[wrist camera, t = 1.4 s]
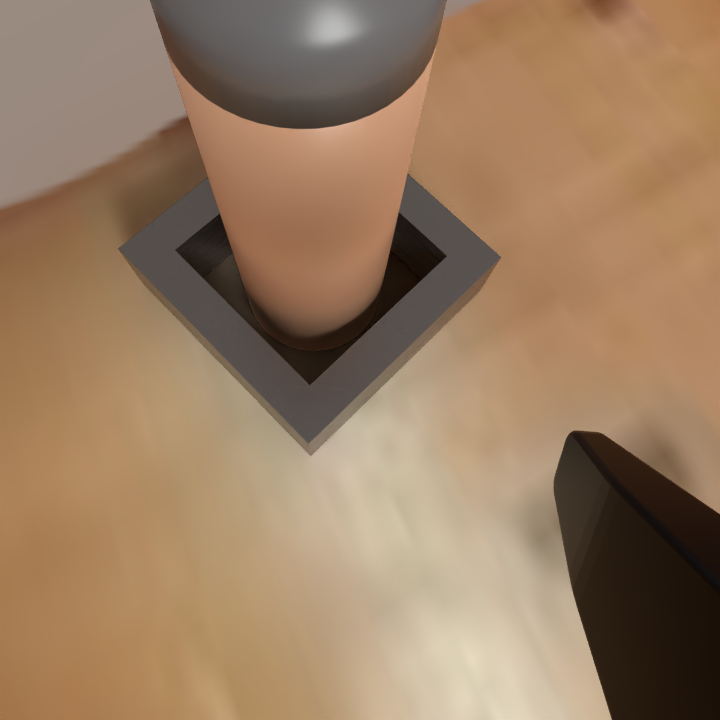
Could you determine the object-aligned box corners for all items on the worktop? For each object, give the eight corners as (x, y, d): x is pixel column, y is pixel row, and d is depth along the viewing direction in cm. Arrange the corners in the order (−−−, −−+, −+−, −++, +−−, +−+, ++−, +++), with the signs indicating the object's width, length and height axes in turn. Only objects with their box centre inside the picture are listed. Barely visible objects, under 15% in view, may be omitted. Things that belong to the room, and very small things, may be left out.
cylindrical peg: (312, 378, 23) (288, 100, 8) (220, 286, 23) (50, -116, 9) (406, 289, 24) (532, -90, 9) (316, 204, 25) (301, -267, 10)
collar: (310, 456, 22) (308, 443, 19) (143, 284, 23) (118, 248, 20) (479, 290, 24) (500, 257, 21) (317, 142, 25) (315, 91, 22)
